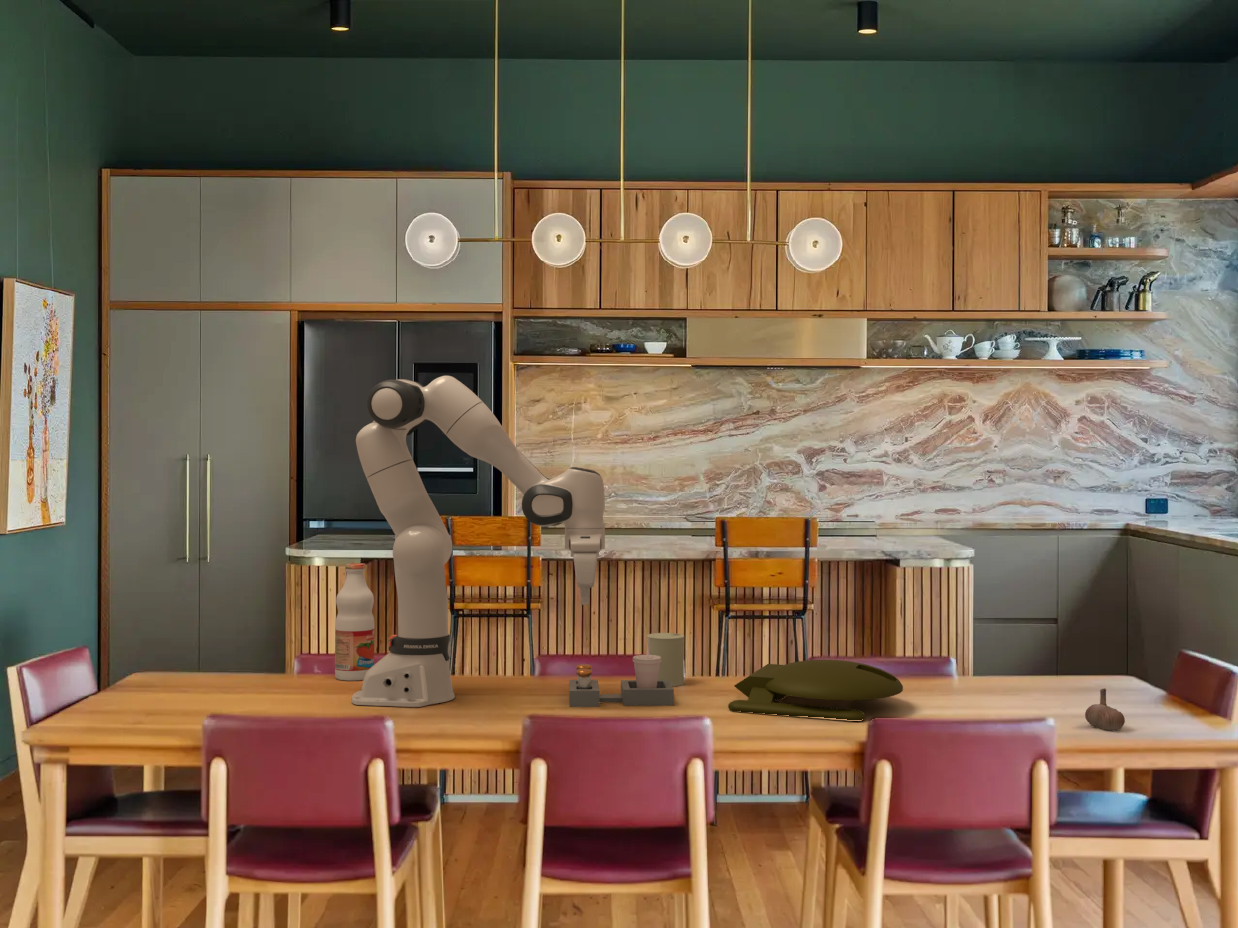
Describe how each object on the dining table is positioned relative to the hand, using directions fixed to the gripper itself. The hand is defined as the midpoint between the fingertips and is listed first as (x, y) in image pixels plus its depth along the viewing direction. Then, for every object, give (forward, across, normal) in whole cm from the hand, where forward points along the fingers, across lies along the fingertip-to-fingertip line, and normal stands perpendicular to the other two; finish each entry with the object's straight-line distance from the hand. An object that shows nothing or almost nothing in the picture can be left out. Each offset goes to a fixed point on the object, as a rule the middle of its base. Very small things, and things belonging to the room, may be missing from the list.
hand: (584, 604), depth 242 cm
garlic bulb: (+23, +26, +104) cm, 109 cm away
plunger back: (+20, -6, 0) cm, 21 cm away
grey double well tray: (+22, -3, +8) cm, 23 cm away
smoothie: (+22, -3, +14) cm, 26 cm away
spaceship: (+23, +2, +52) cm, 57 cm away
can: (+22, -23, +20) cm, 38 cm away
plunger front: (+20, 0, 0) cm, 20 cm away
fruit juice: (+22, -32, -56) cm, 68 cm away
